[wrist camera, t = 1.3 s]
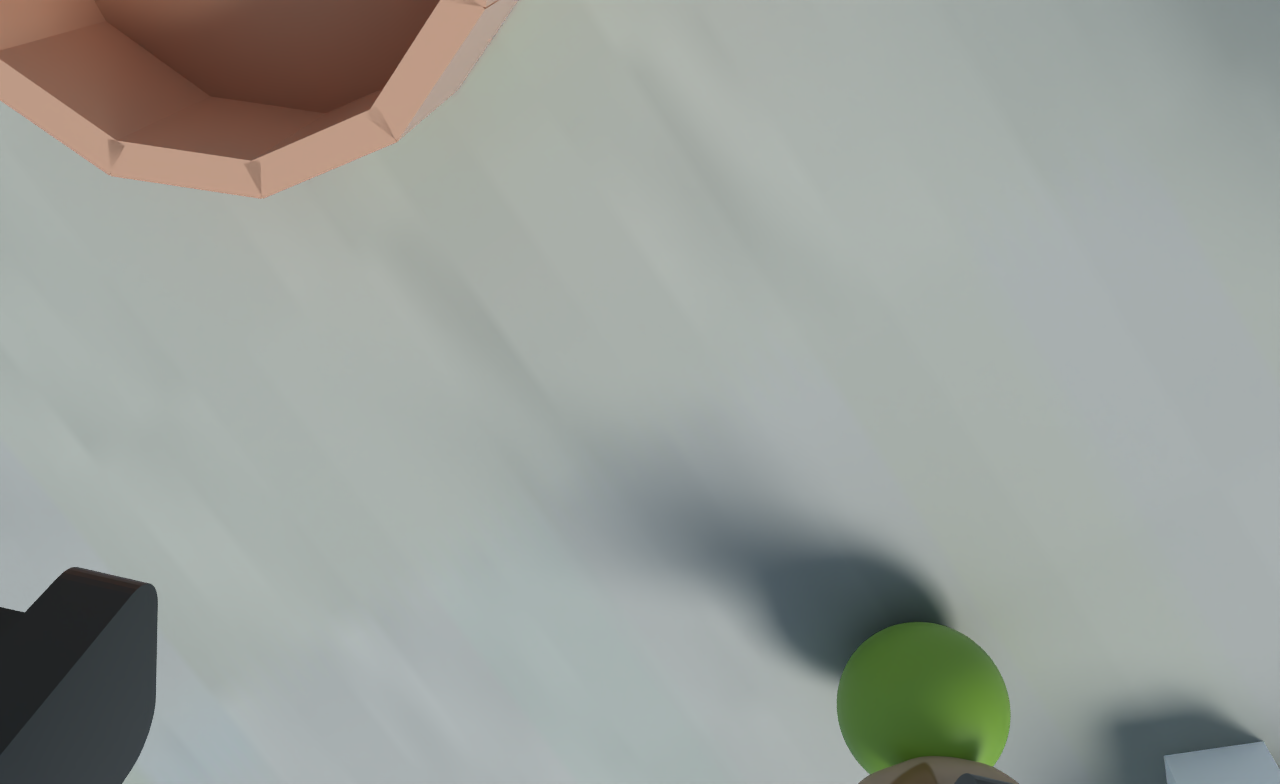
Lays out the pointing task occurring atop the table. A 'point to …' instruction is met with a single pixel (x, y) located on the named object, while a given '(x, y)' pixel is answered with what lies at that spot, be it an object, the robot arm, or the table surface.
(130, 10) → the bowl
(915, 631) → the snail figurine
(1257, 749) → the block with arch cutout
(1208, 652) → the table surface
